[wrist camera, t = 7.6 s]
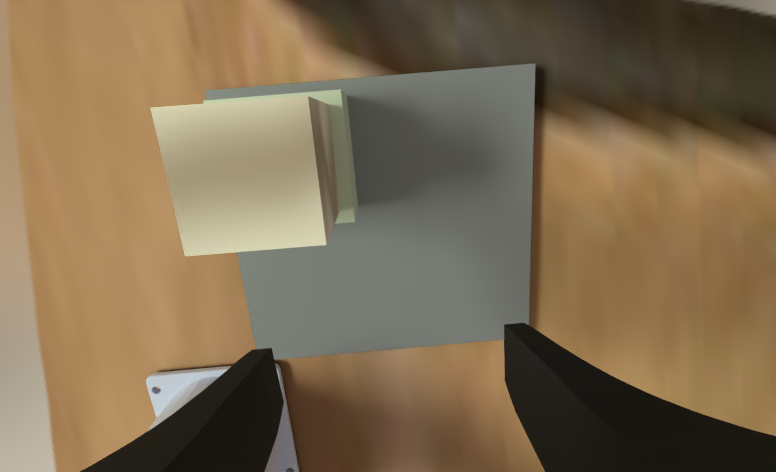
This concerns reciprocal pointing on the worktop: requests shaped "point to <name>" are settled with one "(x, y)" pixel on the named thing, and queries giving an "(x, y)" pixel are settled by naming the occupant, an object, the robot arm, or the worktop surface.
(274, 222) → the cream block
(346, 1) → the worktop surface
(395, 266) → the build plate
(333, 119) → the base block
